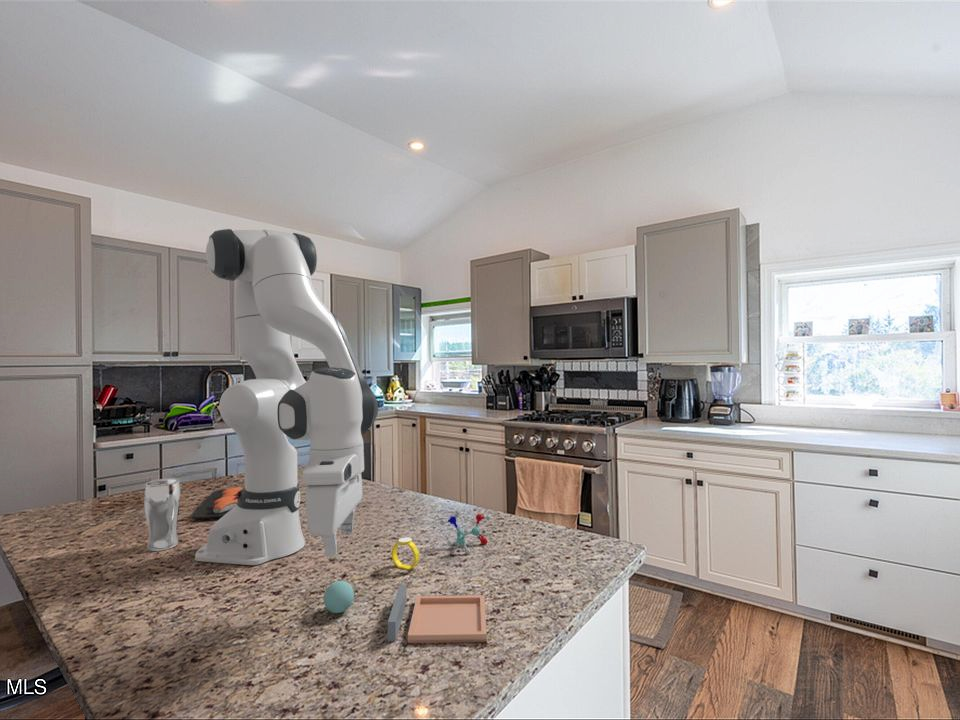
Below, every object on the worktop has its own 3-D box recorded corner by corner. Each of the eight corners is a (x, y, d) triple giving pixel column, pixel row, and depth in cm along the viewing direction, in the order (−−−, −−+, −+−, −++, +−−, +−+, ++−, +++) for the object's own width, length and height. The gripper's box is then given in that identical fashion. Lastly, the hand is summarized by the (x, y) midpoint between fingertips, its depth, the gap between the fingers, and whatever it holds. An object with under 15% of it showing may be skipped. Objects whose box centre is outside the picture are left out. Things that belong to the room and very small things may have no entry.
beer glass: (187, 543, 112) (187, 479, 112) (156, 554, 106) (156, 487, 106) (168, 538, 115) (168, 476, 115) (137, 549, 109) (137, 483, 109)
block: (387, 641, 73) (387, 621, 73) (399, 601, 85) (399, 584, 85) (395, 641, 73) (395, 621, 73) (406, 601, 85) (406, 584, 85)
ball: (319, 619, 79) (319, 589, 79) (328, 604, 84) (328, 575, 84) (349, 619, 79) (349, 589, 79) (357, 603, 84) (357, 575, 84)
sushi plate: (214, 495, 154) (214, 483, 154) (312, 487, 163) (312, 476, 163) (189, 525, 126) (188, 510, 126) (308, 514, 135) (308, 500, 135)
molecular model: (485, 544, 102) (467, 500, 106) (448, 563, 103) (432, 518, 107) (501, 541, 112) (485, 501, 116) (467, 558, 113) (452, 518, 118)
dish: (407, 643, 72) (407, 635, 72) (416, 602, 84) (416, 596, 84) (486, 642, 72) (486, 634, 72) (484, 601, 84) (484, 595, 84)
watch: (390, 569, 99) (388, 540, 99) (398, 564, 101) (396, 535, 101) (414, 572, 96) (412, 543, 96) (421, 567, 98) (420, 538, 99)
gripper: (336, 451, 91) (338, 523, 91) (297, 477, 71) (299, 570, 71) (369, 450, 92) (371, 522, 91) (339, 475, 71) (342, 568, 71)
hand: (340, 543), depth 81 cm, fingers open, 8 cm apart
